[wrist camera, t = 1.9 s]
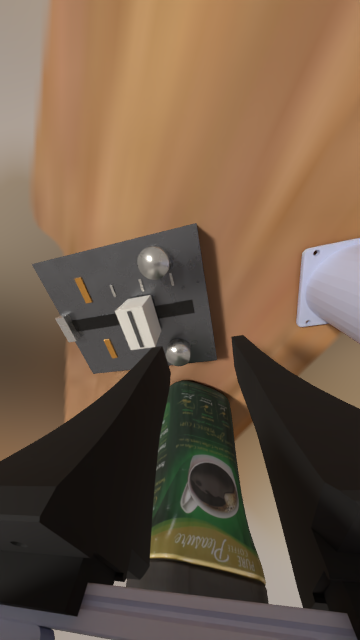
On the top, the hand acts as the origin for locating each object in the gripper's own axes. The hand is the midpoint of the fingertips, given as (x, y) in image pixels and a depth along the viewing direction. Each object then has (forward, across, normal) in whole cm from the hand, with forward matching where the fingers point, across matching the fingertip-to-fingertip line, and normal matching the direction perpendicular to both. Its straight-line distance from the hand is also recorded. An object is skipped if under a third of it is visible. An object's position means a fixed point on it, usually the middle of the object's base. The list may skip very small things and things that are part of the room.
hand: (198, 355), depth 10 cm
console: (+10, +7, 0) cm, 12 cm away
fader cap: (+8, +5, 0) cm, 9 cm away
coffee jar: (+10, +3, +16) cm, 19 cm away
